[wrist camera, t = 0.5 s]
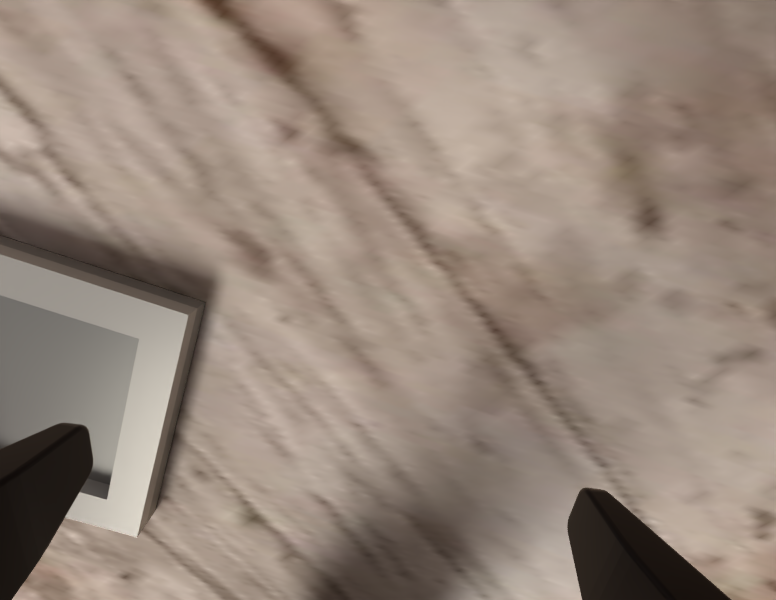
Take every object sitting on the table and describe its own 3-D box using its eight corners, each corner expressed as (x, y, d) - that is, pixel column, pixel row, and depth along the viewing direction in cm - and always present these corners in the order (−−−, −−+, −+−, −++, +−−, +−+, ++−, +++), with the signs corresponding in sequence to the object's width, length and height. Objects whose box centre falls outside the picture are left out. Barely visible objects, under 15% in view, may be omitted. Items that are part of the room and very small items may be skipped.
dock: (155, 510, 27) (136, 537, 25) (-85, 443, 26) (-124, 465, 24) (205, 302, 23) (188, 315, 21) (-76, 210, 22) (-121, 215, 20)
